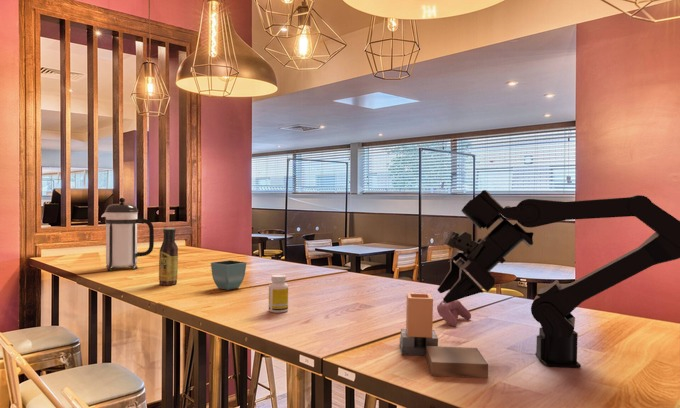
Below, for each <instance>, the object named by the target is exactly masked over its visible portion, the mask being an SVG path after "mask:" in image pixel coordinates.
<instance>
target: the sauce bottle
mask: <svg viewBox="0 0 680 408" xmlns="http://www.w3.org/2000/svg"><path fill="white" fill-rule="evenodd" d="M162 230H163V241H162V244H161V245H160V246H161V247H160V249H159V254H158V255H159V257H158V258H159V259H158V261H159V262H158V263H159V264H158V284H159V285H161V286H173V285H177V284H178V283H177V282H178V275H179V274H178V273H179V271H178V270H179V269H178V268H179V248H178V244H177V243H176V242H175V241H176V239H175V238H176V235H175V234H176V232H177V231H176V230H177V229H176V228H174V227H166V228H163V229H162Z"/></svg>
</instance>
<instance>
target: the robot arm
mask: <svg viewBox="0 0 680 408" xmlns="http://www.w3.org/2000/svg"><path fill="white" fill-rule="evenodd" d="M461 213H462V214H464V215H465V216H466V218H468V219H469V220H470V221H471V222H472V223H473V225H475V226H476V227H477V228H478V229H479V230H482V229H486V230H487V231H489V230H490V229H491V228H492V227H493V226H494V225H496V224H497V223H498V222H499V221H500V223H498V224H497V225H496V226H495V227H494V228H493V229H492V230H490V232H488V234H487V235H486V236H484V237H483V238H482V237H478V238H477V239H475V240H472V238H473V237H472V234H471V233H468V232H467V231H465V230H463V231H462V232H460V233H458V232H456V231H454V230H450V231H449V232H448V233H449V234H448V235H447V237H446V239H445V241H444V244H446V246H448V247H451V248H452V249H456V251H455V252H453V254H451V255H450V257H451V258H452V259H453V260H452V259H451V258H450V259H449V262H450V263H449V266H450V268H449V271H448V272H447V274H446V275H445V277H444V278H443V280H442V282H441V283H440V285H439V286H438V287H437V292H439V294H443V293H445V292H447V293H446V294H445V296H444V297H443V299H442V301H443V300H444V301H445V302H446V303H449V302H452V301H455V300H458V301H459V300H460V299H464V298H467V297H470V296H474V295H478V294H480V293H481V294H483V293H484V292H487V293H488V292H489V291H490V290H492V288H494V287H495V285H496V284H495V281H496V279H495V278H494V277H493V275H491V271H492V270H493V269H495V268H496V266H497V265H498V264H499V263H500V264H504V263H505V262H506V261H507V260H506V259H505V258H506V257H507V256H508V255H509V254H510V253H511V252H513V250H515V249H516V248H517V247H518V246H519V245H520V244H521V243H522V242H523V243H524V244H525V245H526V246H527V247H532V246H533V244H534V239H533V236H534V232H532V231H531V232H530V231H529V232H528V231H526V230H525V229H524V228H530V229H531V228H536V227H540V226H545V225H550V224H556V223H559V222H564V221H569V220H589V219H607V218H608V219H609V218H610V219H611V218H623V217H624V218H625V217H626V218H627V217H633V218H634V217H635V218H636V219H638V220H639V221H640V222H642V223H643V224H645V225H646V226H647V227H649V228H650V229H651V230H652V231H653V232H654V233H652V234H651V235H650V236H649V237H648V238H647V239H646V240H645V241H643V243H641V244H640V245H639V246H637V247H636V248H634V249H632V250H630V251H628V252H626V253H625V254H622V255H621V256H619V257H617V258H615V259H613V260H611V261H609V262H608V263H606V264H603V265H602V266H600V267H599V268H597V269H594V270H593V271H591V272H589V273H587V274H585V275H584V276H582V277H579V278H578V279H576V280H575V281H573V282H570V283H567V284H565V283H564V284H562V285H561V284H560V282H559V280H558V279H555V280H554V281H553V282H552V283H550V285H548V286H545V287H542V288H541V287H540V288H539V289H538V292H537V294H536V295H535V297H534V299H533V302H532V303H531V308H530V313H531V315H532V318H533V319H534V320H535V321H536V322H537V323H539V324H540V327H539V331H538V333H539V334H537V335H536V348H535V350H536V352H535V356H536V357H537V358H538V359H539V360H540V361H541V362H542V363H543V364H544V365H545V366H546V367H547V366H548V367H567V368H568V367H569V368H581V366H582V365H581V363H580V362H578V335H579V334H578V332H576V330H575V324H576V317H575V316H574V314H572V312H573V311H574V310H575V309H576V308H577V307H578V306H580V305H581V304H582V303H584V302H585V301H587V300H589V299H591V298H593V297H595V296H596V295H598V294H600V293H602V292H604V291H606V290H608V289H610V288H612V287H614V286H616V285H618V284H620V283H622V282H624V281H626V280H627V279H630V278H632V277H633V276H636V275H637V274H639V273H641V272H643V271H645V270H647V269H648V268H651V267H652V266H653V267H654V266H655V265H659V264H663V263H667V262H671V261H675V260H679V259H680V220H679V219H677V218H676V217H675V216H673V215H672V214H670V213H669V212H667V211H665V210H664V209H663V208H661V207H660V206H659V205H657V204H655V203H654V202H653V201H652V199H650V198H649V197H648V196H645V195H640V194H637V195H633V196H627V197H626V196H625V197H612V198H599V199H598V198H597V199H584V200H571V201H561V200H552V199H551V200H550V199H543V198H542V199H541V198H540V199H539V198H526V199H522V200H521V201H519V202H518V204H516V205H514V206H511V205H505V206H504V207H503V206H502V205H501V204H500V203H499V202H498V201H497V200H496V199H495V198H494V197H493V196H492V195H491V193H490V192H489V191H488V190H485V189H483V190H482V191H481V192H480V193H478V194H477V195H476V196H475V197H473V198H471V199H470V200H469V201H468V202H467V203H466V204H465V205H464V206H463V208H462V209H461ZM508 219H509V220H514V221H516V223H514V224H512V222H510V221H509V220H508ZM522 226H523V227H524V228H522ZM482 288H483V289H484V290H483V289H482Z"/></svg>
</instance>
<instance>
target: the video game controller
mask: <svg viewBox="0 0 680 408" xmlns="http://www.w3.org/2000/svg"><path fill="white" fill-rule="evenodd" d="M436 310H437V313H438V315H439V317H441V318H442V319H443V320H444V321H445V322H446V324H448V325H449V326H451V327H456V326H458V320H457V319H459V316H460V317H461V318H463V319H465V320H471V318H472V313H471V312H470V310H468V308H466V307H465V306H464V304H463V303H462V302H461V301H460V300H459V299H458V300H455V301H452V302H449V303H446V302H445V301H444V300H443V299H442V300H441V301H440V303H439V304H438V305H437V307H436Z"/></svg>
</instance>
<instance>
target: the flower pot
mask: <svg viewBox="0 0 680 408" xmlns="http://www.w3.org/2000/svg"><path fill="white" fill-rule="evenodd" d="M210 268H211V275H212V279H213V282H214V284H215V285H216V287H217V288H218V289H222V290H226V291H229V290H234V289H239V288H240V287H241V285H242V284H243V281H244V278H245V275H246V268H247V262H245V261H239V260H232V259H231V260H222V261H221V260H220V261H215V262H213V261H212V262H210Z"/></svg>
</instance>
